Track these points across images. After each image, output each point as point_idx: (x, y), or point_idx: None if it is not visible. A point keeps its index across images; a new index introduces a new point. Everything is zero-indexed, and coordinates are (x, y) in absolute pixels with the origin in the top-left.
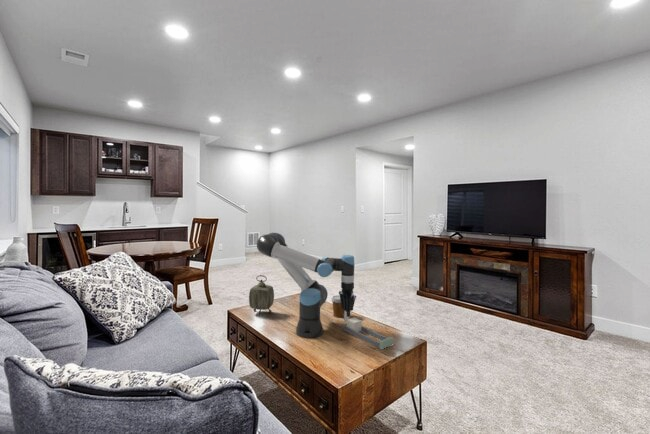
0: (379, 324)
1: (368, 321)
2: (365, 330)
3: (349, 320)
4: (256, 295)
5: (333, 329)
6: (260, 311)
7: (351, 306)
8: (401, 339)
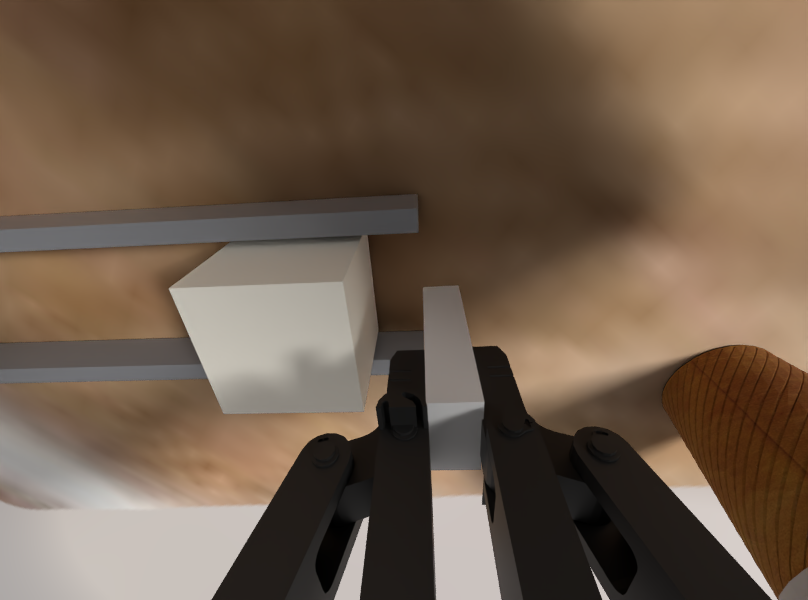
0: None
1: None
2: None
3: (294, 296)
4: None
5: (482, 85)
6: None
7: (235, 593)
8: (49, 452)
